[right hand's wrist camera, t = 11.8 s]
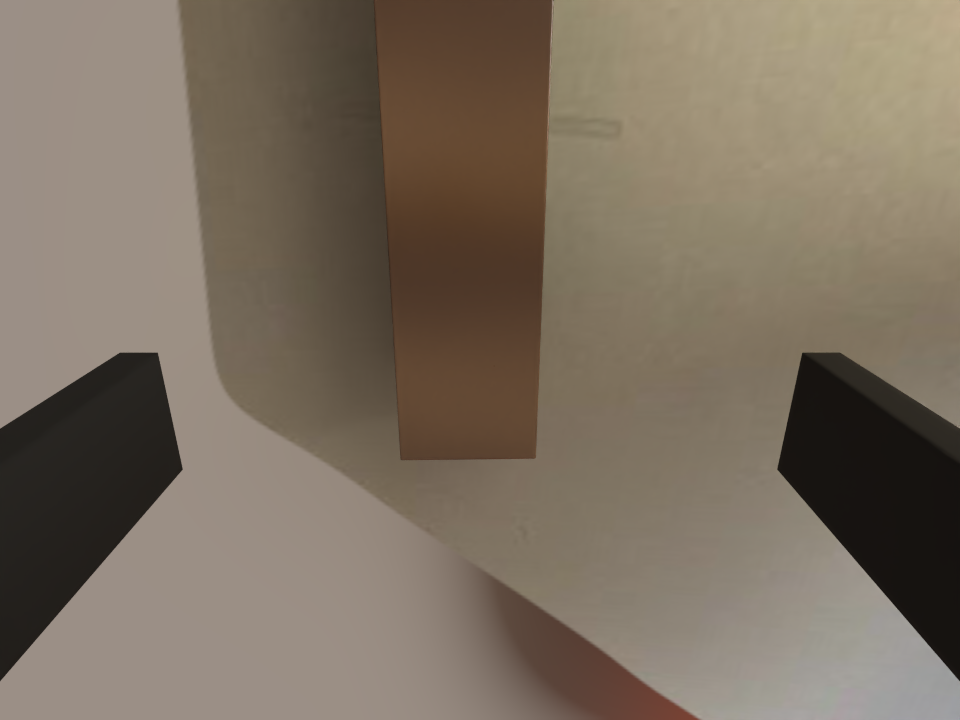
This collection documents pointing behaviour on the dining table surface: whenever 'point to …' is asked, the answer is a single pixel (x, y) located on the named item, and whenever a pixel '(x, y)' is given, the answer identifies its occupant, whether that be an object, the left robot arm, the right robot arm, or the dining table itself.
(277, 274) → the dining table surface
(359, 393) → the dining table surface
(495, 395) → the bar
